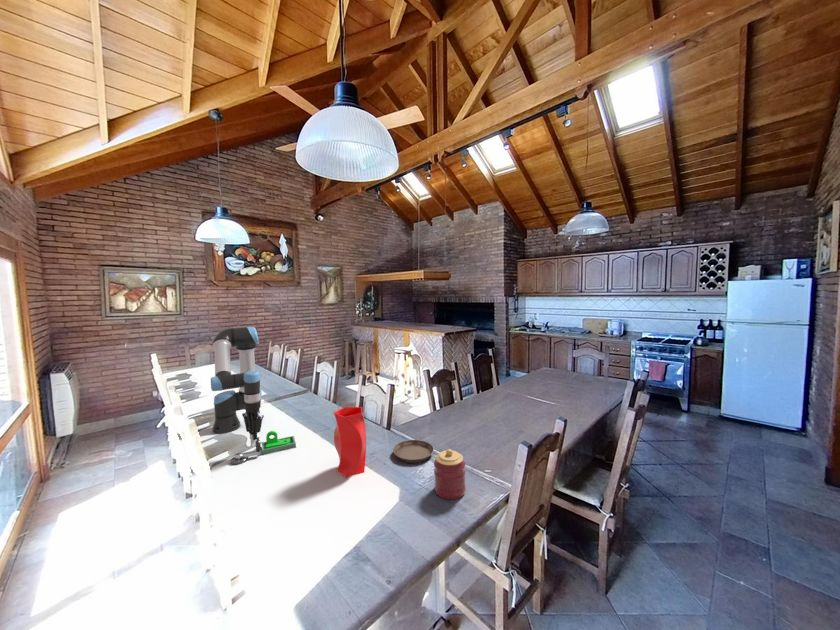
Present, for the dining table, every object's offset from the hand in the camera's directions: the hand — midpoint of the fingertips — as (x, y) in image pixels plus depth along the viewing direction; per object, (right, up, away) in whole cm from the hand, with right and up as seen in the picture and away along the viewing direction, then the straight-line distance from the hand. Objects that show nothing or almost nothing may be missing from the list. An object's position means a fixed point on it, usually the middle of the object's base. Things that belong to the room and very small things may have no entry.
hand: (253, 445), depth 170 cm
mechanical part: (+9, -4, +9) cm, 13 cm away
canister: (+100, -5, -35) cm, 106 cm away
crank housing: (-5, -6, -5) cm, 9 cm away
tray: (+10, -4, +8) cm, 13 cm away
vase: (+55, -5, -17) cm, 58 cm away
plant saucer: (+84, -4, -4) cm, 85 cm away
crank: (-1, -4, -4) cm, 6 cm away
